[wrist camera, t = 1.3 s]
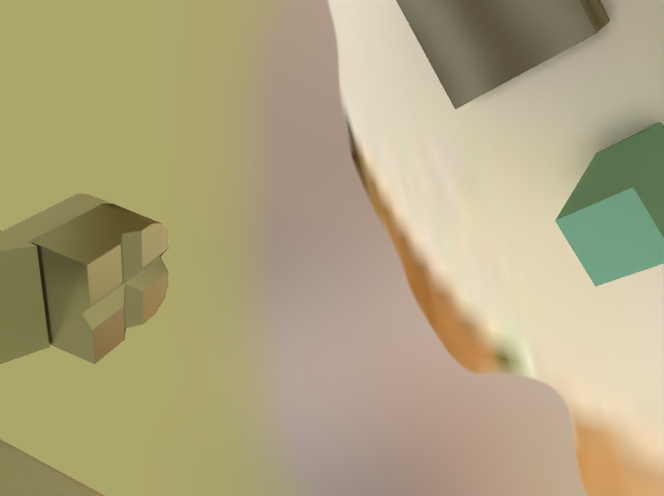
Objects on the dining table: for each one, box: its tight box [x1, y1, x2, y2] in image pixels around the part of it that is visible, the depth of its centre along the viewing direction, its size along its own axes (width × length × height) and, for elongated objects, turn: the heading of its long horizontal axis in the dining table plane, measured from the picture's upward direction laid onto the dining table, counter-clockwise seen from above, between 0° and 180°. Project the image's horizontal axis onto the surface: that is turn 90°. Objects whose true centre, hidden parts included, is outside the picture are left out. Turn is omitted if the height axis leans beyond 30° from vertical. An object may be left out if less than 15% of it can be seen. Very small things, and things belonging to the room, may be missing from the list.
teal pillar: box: [555, 122, 664, 286], centre depth 39 cm, size 4×4×12 cm
